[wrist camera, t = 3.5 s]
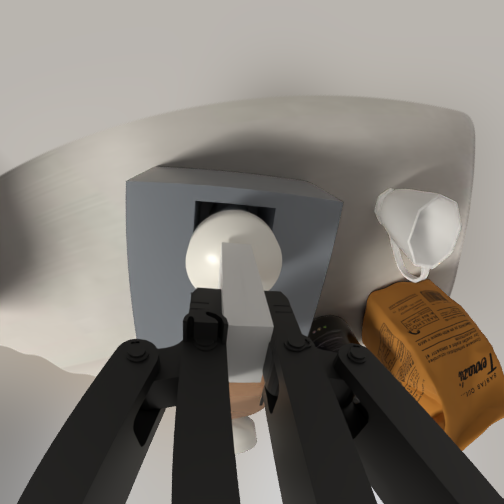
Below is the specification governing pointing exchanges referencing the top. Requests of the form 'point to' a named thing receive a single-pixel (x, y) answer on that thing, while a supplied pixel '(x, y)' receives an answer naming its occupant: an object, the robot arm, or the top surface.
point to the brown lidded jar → (245, 398)
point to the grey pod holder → (197, 209)
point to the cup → (419, 227)
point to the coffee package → (436, 356)
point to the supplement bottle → (331, 334)
